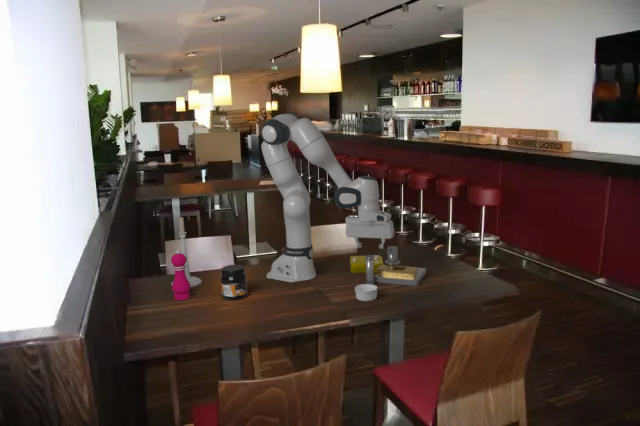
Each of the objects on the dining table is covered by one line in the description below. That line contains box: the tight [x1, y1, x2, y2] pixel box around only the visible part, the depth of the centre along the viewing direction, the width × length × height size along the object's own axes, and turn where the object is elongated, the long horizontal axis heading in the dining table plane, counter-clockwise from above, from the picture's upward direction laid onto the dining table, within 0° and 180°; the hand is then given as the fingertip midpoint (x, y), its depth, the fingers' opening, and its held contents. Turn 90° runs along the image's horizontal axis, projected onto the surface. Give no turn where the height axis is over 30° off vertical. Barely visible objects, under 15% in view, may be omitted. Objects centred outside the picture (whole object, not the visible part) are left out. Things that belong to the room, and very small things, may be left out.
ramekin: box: [354, 283, 378, 302], centre depth 204 cm, size 9×9×4 cm
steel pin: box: [364, 254, 375, 285], centre depth 220 cm, size 4×4×12 cm
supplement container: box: [219, 264, 249, 301], centre depth 210 cm, size 10×10×12 cm
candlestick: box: [171, 216, 202, 288], centre depth 228 cm, size 13×13×30 cm
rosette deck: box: [374, 245, 427, 287], centre depth 226 cm, size 18×18×12 cm
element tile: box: [349, 254, 384, 274], centre depth 244 cm, size 15×15×5 cm
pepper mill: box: [170, 249, 191, 301], centre depth 210 cm, size 7×7×20 cm
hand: (370, 248), depth 218 cm, fingers open, 8 cm apart
